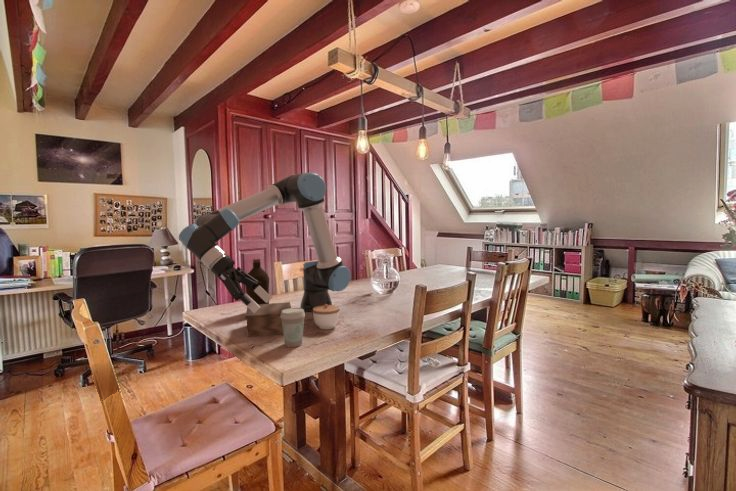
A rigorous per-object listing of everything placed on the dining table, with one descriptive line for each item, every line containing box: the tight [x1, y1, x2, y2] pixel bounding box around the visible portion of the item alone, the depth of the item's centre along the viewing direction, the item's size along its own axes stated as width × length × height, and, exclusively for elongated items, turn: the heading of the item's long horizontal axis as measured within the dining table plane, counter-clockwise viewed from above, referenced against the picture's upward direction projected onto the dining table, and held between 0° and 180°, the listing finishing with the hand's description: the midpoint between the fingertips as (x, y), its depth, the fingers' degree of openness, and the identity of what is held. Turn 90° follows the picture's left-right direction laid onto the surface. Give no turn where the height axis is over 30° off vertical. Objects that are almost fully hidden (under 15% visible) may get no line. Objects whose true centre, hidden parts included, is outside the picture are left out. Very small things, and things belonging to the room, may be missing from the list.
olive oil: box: [245, 258, 270, 304], centre depth 165 cm, size 11×11×25 cm
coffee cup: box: [280, 307, 306, 348], centre depth 124 cm, size 9×8×12 cm
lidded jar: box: [312, 304, 341, 330], centre depth 143 cm, size 11×11×9 cm
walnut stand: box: [244, 301, 292, 338], centre depth 142 cm, size 17×17×8 cm
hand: (263, 305), depth 123 cm, fingers open, 13 cm apart
